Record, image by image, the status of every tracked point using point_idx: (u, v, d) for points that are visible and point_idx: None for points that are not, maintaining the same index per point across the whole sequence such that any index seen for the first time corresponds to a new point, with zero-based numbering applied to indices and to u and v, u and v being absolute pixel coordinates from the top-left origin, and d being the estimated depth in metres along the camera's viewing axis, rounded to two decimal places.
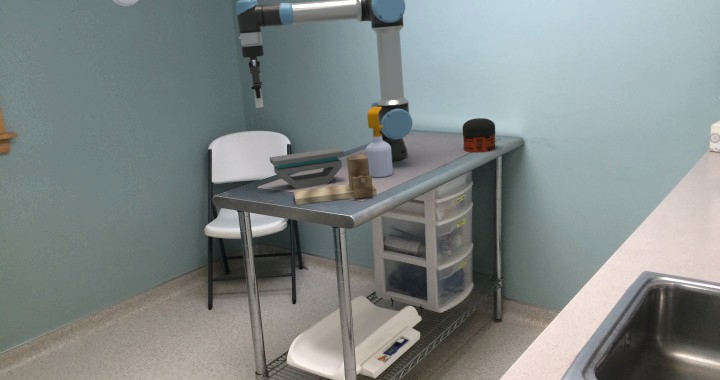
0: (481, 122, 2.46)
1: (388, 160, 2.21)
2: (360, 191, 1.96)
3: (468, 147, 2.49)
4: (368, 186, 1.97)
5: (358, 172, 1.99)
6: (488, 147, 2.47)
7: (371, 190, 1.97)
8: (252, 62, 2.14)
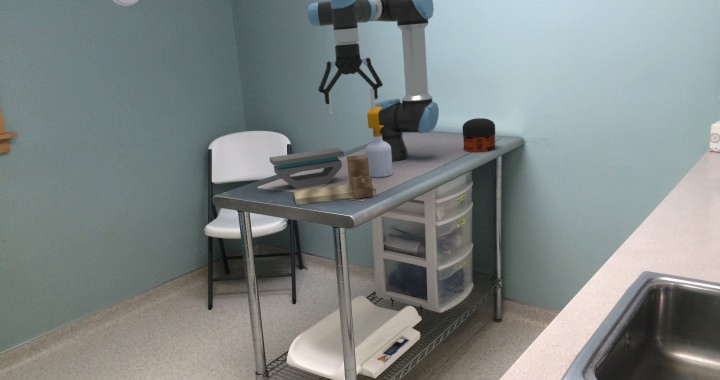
0: (481, 122, 2.46)
1: (388, 160, 2.21)
2: (360, 191, 1.96)
3: (468, 147, 2.49)
4: (368, 186, 1.97)
5: (358, 172, 1.99)
6: (488, 147, 2.47)
7: (371, 190, 1.97)
8: (326, 63, 1.93)
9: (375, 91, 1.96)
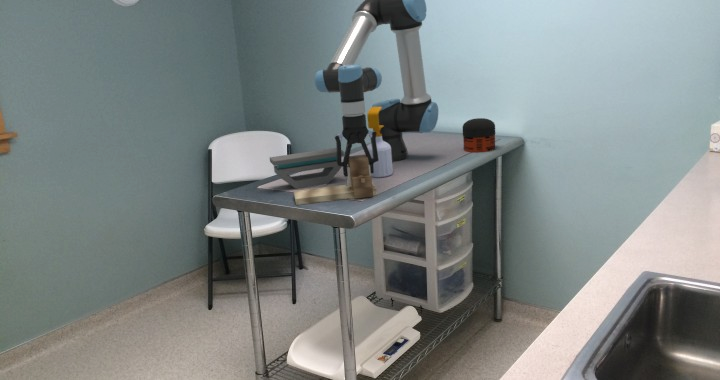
0: (481, 122, 2.46)
1: (388, 160, 2.21)
2: (360, 191, 1.96)
3: (468, 147, 2.49)
4: (368, 186, 1.97)
5: (358, 172, 1.99)
6: (488, 147, 2.47)
7: (371, 190, 1.97)
8: None
9: (371, 166, 2.02)
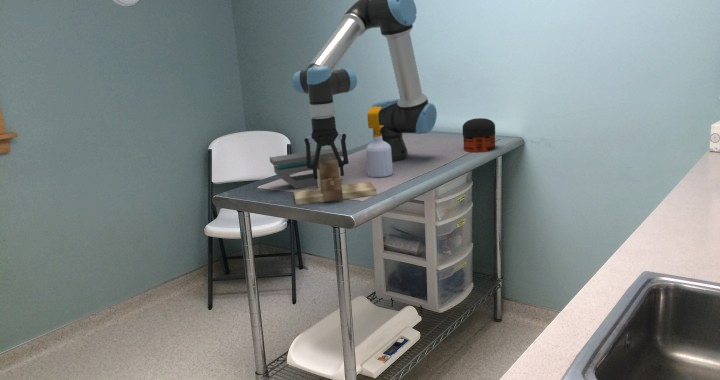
0: (481, 122, 2.46)
1: (388, 160, 2.21)
2: (329, 194, 1.95)
3: (468, 147, 2.49)
4: (337, 189, 1.95)
5: (328, 175, 1.98)
6: (488, 147, 2.47)
7: (340, 193, 1.96)
8: None
9: (341, 168, 2.00)
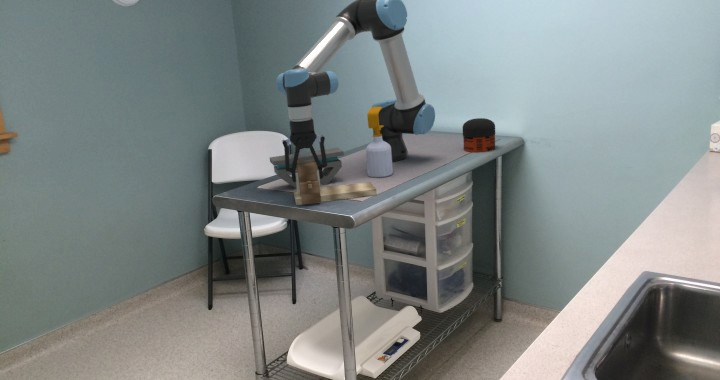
0: (481, 122, 2.46)
1: (388, 160, 2.21)
2: (307, 197, 1.94)
3: (468, 147, 2.49)
4: (315, 192, 1.94)
5: (306, 178, 1.97)
6: (488, 147, 2.47)
7: (319, 196, 1.95)
8: None
9: (320, 171, 1.99)
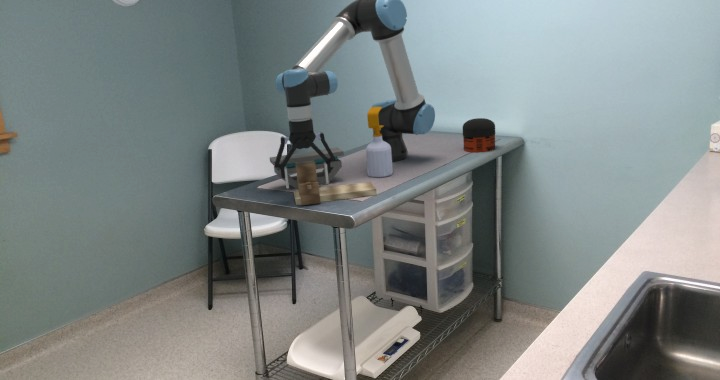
0: (481, 122, 2.46)
1: (388, 160, 2.21)
2: (307, 198, 1.94)
3: (468, 147, 2.49)
4: (314, 193, 1.94)
5: (306, 179, 1.97)
6: (488, 147, 2.47)
7: (318, 197, 1.95)
8: None
9: (328, 165, 1.99)
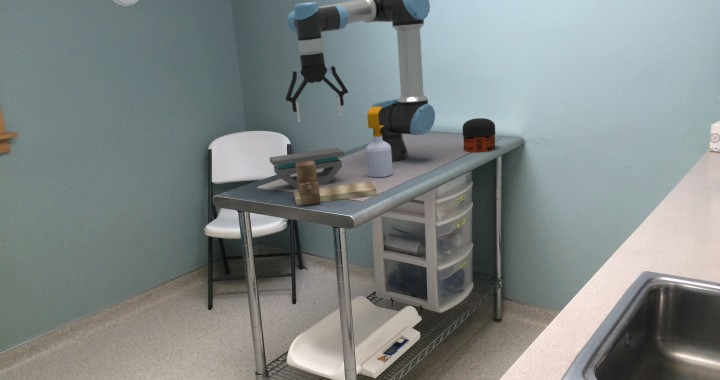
0: (481, 122, 2.46)
1: (388, 160, 2.21)
2: (307, 198, 1.94)
3: (468, 147, 2.49)
4: (314, 193, 1.94)
5: (306, 179, 1.97)
6: (488, 147, 2.47)
7: (318, 197, 1.95)
8: (292, 73, 1.99)
9: (341, 98, 2.02)
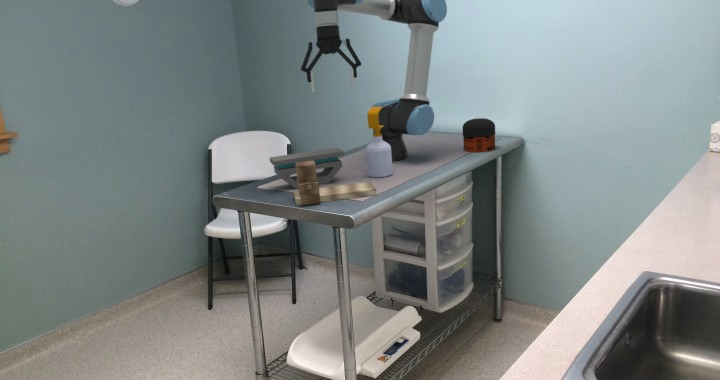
0: (481, 122, 2.46)
1: (388, 160, 2.21)
2: (307, 198, 1.94)
3: (468, 147, 2.49)
4: (314, 193, 1.94)
5: (306, 179, 1.97)
6: (488, 147, 2.47)
7: (318, 197, 1.95)
8: (308, 44, 2.05)
9: (354, 70, 2.08)
